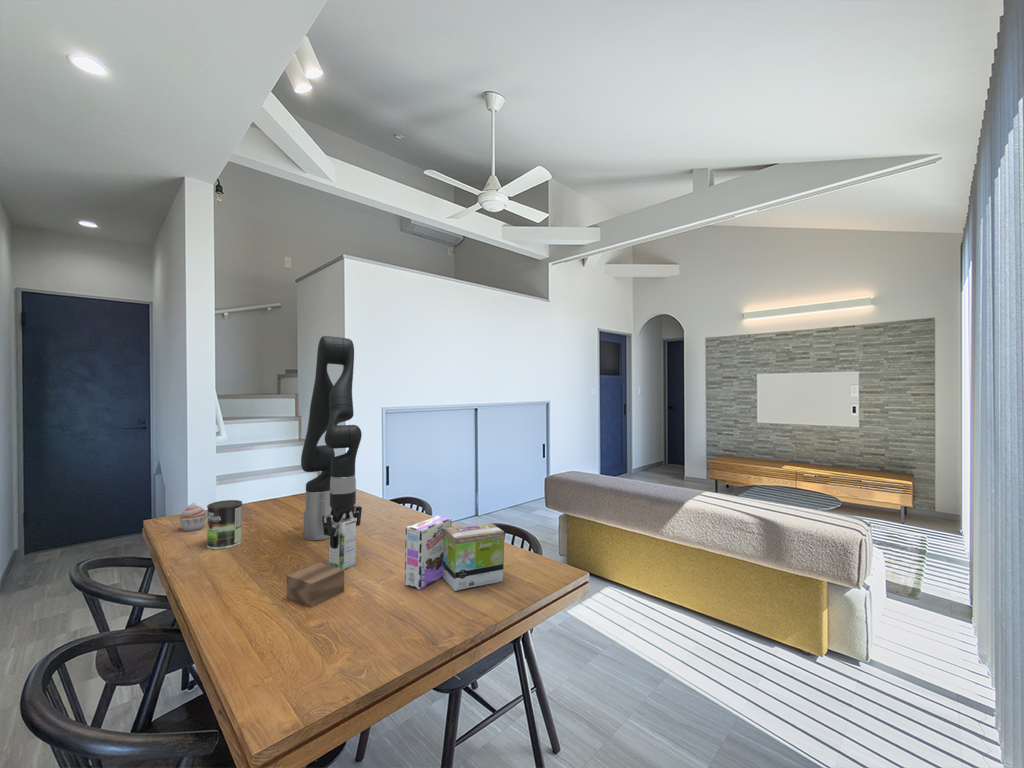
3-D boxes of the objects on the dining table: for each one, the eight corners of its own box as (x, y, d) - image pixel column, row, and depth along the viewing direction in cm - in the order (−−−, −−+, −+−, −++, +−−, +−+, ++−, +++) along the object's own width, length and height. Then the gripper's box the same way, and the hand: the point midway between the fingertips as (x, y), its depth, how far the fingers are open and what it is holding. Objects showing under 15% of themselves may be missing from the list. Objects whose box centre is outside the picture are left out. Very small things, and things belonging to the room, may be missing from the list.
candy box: (419, 590, 122) (420, 530, 122) (404, 585, 125) (404, 526, 125) (452, 572, 134) (452, 517, 134) (436, 568, 137) (437, 514, 137)
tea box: (454, 593, 121) (455, 538, 121) (442, 578, 130) (442, 527, 130) (504, 582, 128) (504, 530, 128) (489, 569, 137) (489, 520, 137)
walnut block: (286, 598, 118) (286, 575, 118) (319, 583, 127) (319, 562, 127) (311, 607, 113) (311, 583, 113) (343, 592, 122) (344, 569, 122)
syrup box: (328, 567, 137) (328, 519, 137) (343, 560, 142) (343, 515, 143) (341, 571, 135) (341, 522, 135) (356, 564, 140) (356, 517, 140)
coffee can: (220, 551, 150) (220, 508, 150) (199, 546, 154) (200, 505, 154) (248, 541, 160) (249, 501, 160) (228, 537, 163) (229, 498, 163)
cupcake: (212, 527, 174) (212, 502, 174) (184, 534, 166) (185, 507, 166) (201, 523, 179) (201, 498, 179) (173, 530, 171) (173, 503, 171)
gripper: (351, 484, 147) (350, 535, 147) (315, 493, 134) (314, 550, 134) (369, 486, 143) (368, 539, 143) (333, 496, 130) (333, 554, 130)
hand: (342, 544), depth 139 cm, fingers closed on syrup box, 6 cm apart
